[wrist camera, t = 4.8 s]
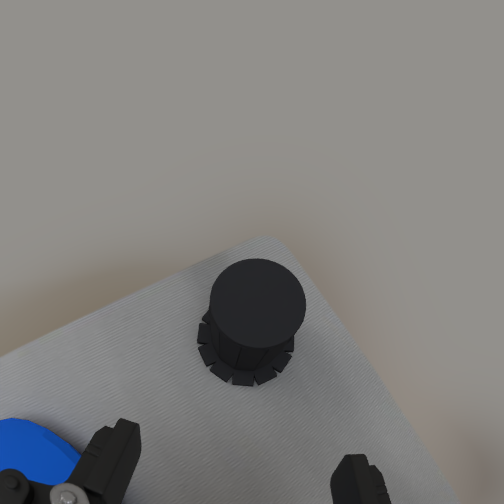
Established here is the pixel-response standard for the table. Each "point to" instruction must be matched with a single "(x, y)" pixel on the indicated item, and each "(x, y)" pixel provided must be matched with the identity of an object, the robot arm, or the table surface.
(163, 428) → the table surface
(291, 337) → the black hat
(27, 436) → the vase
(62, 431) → the table surface
